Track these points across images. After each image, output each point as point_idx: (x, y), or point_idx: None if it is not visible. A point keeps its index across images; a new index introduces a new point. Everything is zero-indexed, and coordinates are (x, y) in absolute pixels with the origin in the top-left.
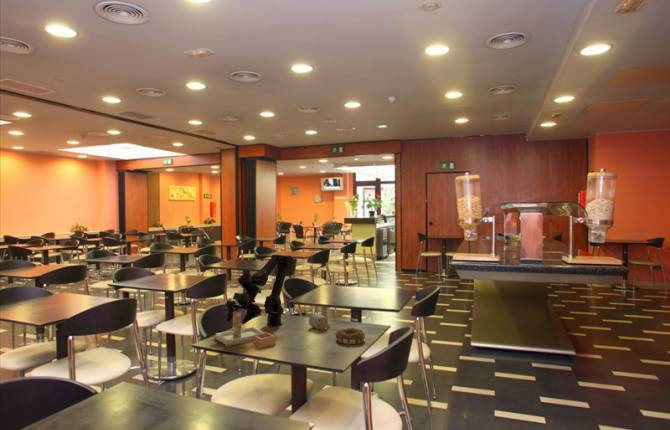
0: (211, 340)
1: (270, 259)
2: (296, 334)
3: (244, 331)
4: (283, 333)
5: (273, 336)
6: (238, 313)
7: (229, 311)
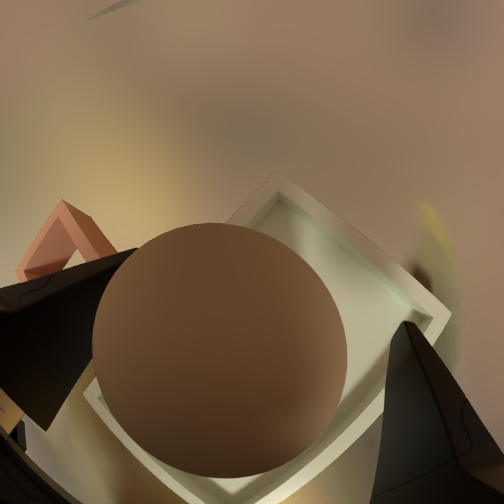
0: (437, 273)
1: None
2: (29, 437)
3: (276, 479)
4: (70, 463)
5: (20, 265)
6: (138, 263)
7: (476, 443)
